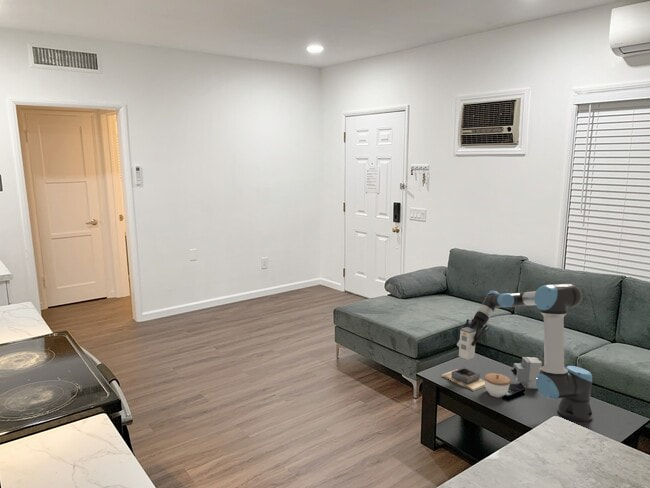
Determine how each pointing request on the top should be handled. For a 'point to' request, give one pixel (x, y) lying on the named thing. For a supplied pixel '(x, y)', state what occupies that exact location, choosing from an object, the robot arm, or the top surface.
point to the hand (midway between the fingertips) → (463, 347)
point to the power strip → (466, 343)
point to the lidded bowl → (496, 384)
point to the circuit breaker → (527, 371)
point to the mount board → (471, 386)
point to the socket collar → (459, 374)
